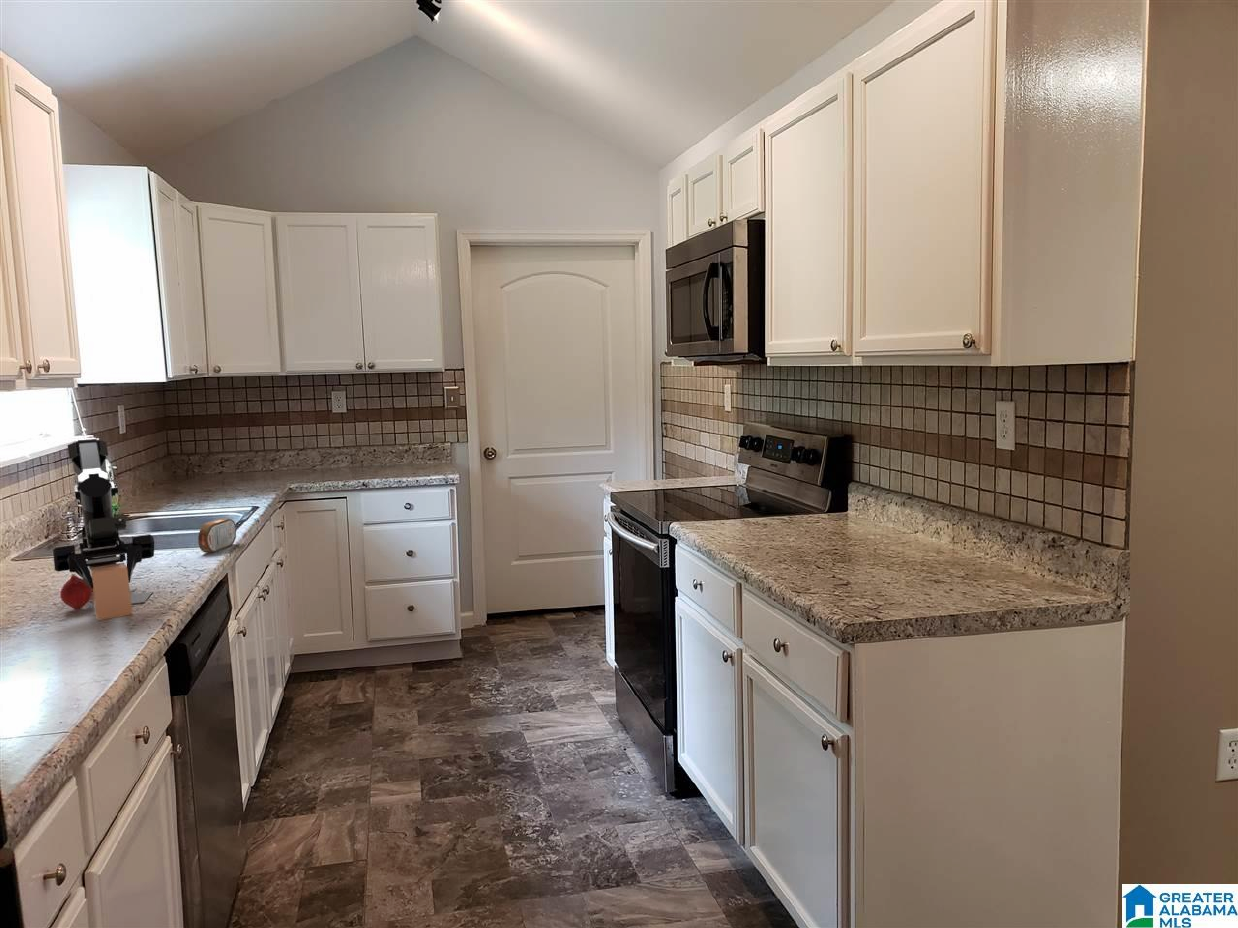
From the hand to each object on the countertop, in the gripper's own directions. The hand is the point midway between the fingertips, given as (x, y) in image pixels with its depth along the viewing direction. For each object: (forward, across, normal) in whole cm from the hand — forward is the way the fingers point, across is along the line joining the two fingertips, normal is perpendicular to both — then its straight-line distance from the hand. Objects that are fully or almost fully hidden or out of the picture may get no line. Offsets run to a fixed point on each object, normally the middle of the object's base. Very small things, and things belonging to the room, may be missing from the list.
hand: (110, 584), depth 189 cm
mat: (-4, +3, +13) cm, 14 cm away
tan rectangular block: (+4, 0, +6) cm, 7 cm away
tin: (-34, +31, +44) cm, 64 cm away
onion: (-3, -6, +12) cm, 14 cm away
